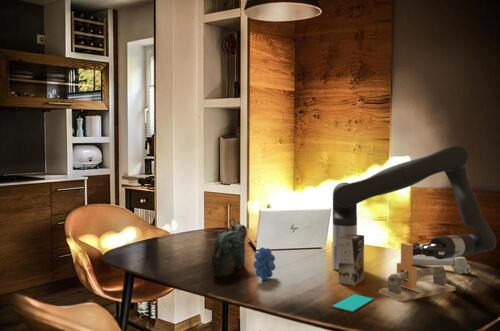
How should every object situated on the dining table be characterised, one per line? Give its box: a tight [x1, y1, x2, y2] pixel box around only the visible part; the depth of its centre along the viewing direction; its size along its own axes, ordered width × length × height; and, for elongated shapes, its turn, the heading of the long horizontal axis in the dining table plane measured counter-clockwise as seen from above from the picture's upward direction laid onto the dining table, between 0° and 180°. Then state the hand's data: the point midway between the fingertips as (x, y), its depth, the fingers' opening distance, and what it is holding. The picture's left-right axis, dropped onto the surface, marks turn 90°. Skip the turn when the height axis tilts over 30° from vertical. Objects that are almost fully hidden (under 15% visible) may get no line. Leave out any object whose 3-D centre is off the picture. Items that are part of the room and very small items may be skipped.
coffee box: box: [338, 234, 365, 286], centre depth 177 cm, size 9×6×16 cm
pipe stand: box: [378, 266, 457, 302], centre depth 165 cm, size 24×10×7 cm, turn 117°
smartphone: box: [330, 293, 375, 314], centre depth 154 cm, size 7×1×15 cm
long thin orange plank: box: [396, 242, 418, 289], centre depth 163 cm, size 2×7×14 cm, turn 27°
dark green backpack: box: [211, 218, 248, 277], centre depth 191 cm, size 20×6×20 cm, turn 150°
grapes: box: [252, 247, 276, 281], centre depth 179 cm, size 12×7×12 cm, turn 141°
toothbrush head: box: [413, 255, 471, 275], centre depth 194 cm, size 5×7×25 cm
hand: (409, 252), depth 163 cm, fingers closed
